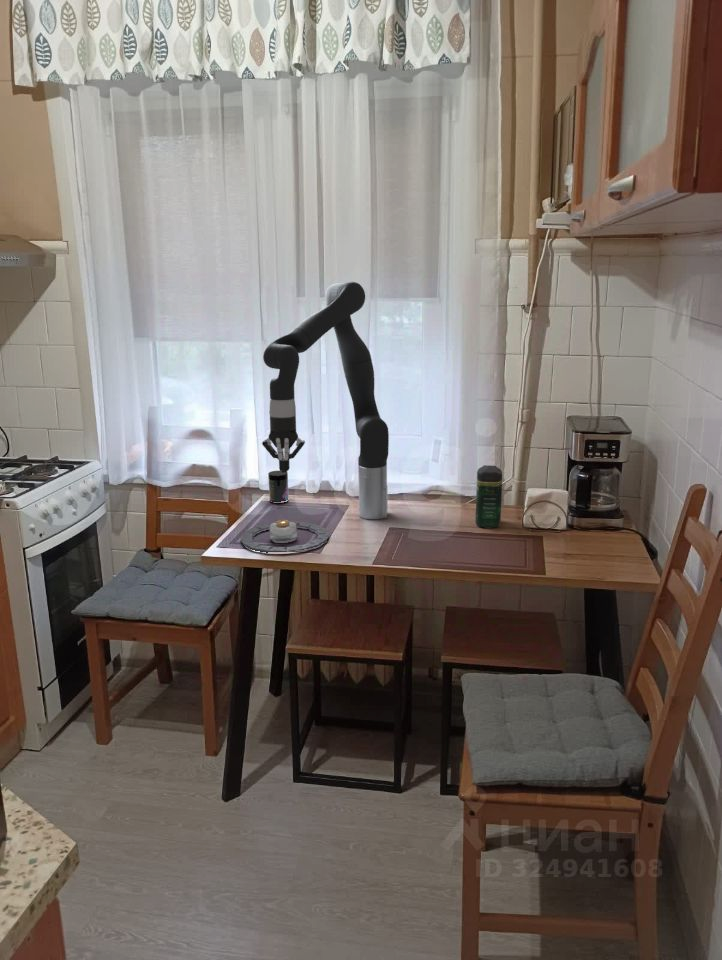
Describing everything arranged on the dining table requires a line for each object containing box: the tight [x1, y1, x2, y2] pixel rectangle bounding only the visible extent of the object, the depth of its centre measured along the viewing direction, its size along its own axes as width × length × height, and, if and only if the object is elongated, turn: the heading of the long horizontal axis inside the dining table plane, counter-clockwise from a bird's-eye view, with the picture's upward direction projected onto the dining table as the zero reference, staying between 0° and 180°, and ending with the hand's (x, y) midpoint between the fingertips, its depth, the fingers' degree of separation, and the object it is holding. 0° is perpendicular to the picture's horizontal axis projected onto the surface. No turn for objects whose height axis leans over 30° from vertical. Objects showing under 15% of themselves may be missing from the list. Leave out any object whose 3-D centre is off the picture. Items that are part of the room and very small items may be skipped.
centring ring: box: [240, 521, 330, 553], centre depth 239 cm, size 26×26×1 cm
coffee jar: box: [475, 464, 503, 529], centre depth 247 cm, size 10×8×19 cm
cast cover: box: [269, 519, 298, 541], centre depth 239 cm, size 8×8×6 cm
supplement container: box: [267, 470, 289, 502], centre depth 275 cm, size 7×7×10 cm
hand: (284, 471), depth 233 cm, fingers closed
